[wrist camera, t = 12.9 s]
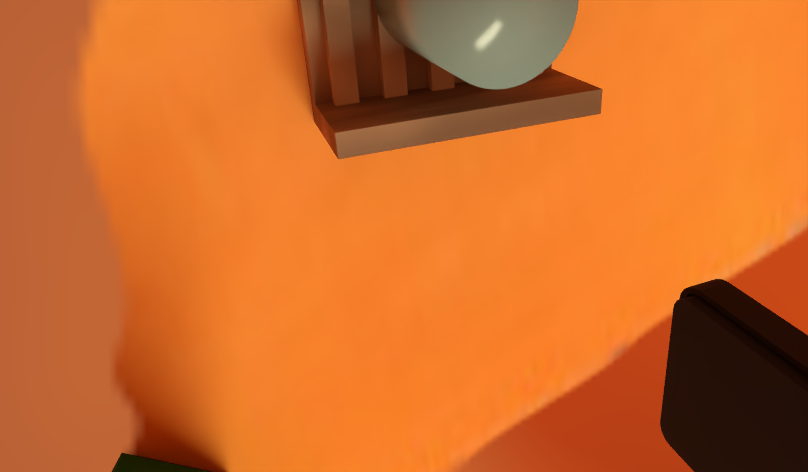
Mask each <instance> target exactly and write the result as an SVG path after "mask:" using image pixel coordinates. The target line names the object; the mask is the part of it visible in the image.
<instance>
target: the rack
mask: <svg viewBox="0 0 808 472" xmlns="http://www.w3.org/2000/svg"><path fill="white" fill-rule="evenodd" d="M297 3H298V10H299V17H300V24H301V31H302V38H303V45H304V52H305V59H306V66H307V73H308V80H309V87H310V94H311V101H312V108H313V115H314V122H315V123H316V125H317V127H318V128H319V130H320V131H321V133H322V134H323V136H324V138H325V139H326V141H327V142H328V144H329V145H330V147H331V148H332V150H333V152H334V153H335V155H336V156H337V158H338V159H342V158H348V157H354V156H360V155H365V154H371V153H377V152H383V151H388V150H394V149H400V148H406V147H411V146H417V145H423V144H429V143H434V142H440V141H446V140H452V139H457V138H463V137H469V136H475V135H481V134H486V133H492V132H498V131H504V130H509V129H515V128H521V127H527V126H532V125H538V124H544V123H550V122H555V121H561V120H567V119H573V118H578V117H584V116H590V115H596V114H601V100H602V89H601V88H598V87H596V86H593V85H591V84H588V83H586V82H583V81H581V80H578V79H576V78H573V77H571V76H568V75H566V74H563V73H561V72H558V71H556V70H554V69H551V66H552V63H551V64H550V66H549V67H547V68H546V69H545V70H544V71H543V72H542V73H540V74H539V75H537V76H536V77H535V78H533V79H531V80H529V81H527V82H526V83H523V84H521V85H518V86H515V87H511V88H507V89H486V88H481V87H477V86H474V85H472V84H469V83H467V82H466V81H464V80H462V79H460V78H458V77H457V76H455V75H453V74H451V73H450V72H448V71H446V70H445V69H443V68H441V67H439V66H438V65H436V64H434V63H432V62H431V61H429V60H427V59H425V58H424V57H422V56H420V55H418V54H417V53H415V52H413V51H411V50H410V49H408V48H406V47H404V46H403V45H401V44H400V43H398V42H397V41H396V40H395V39H394V38H393V37H392V36H391V35H390V34H389V33H388V32H387V30H386V29H385V28H384V26H383V24H382V23H381V21H380V19H379V16H378V14H377V11H376V7H375V3H374V0H297Z"/></svg>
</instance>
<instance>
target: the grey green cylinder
mask: <svg viewBox="0 0 808 472" xmlns="http://www.w3.org/2000/svg"><path fill="white" fill-rule="evenodd" d="M374 3H375V7H376V11H377V14H378V16H379V19H380V21H381V23H382V24H383V26H384V28H385V29H386V30H387V32H388V33H389V34H390V35H391V36H392V37H393V38H394V39H395V40H396V41H397V42H398V43H400V44H401V45H403V46H404V47H406V48H408V49H410V50H411V51H413V52H415V53H417V54H418V55H420V56H422V57H424V58H425V59H427V60H429V61H431V62H432V63H434V64H436V65H438V66H439V67H441V68H443V69H445V70H446V71H448V72H450V73H451V74H453V75H455V76H457V77H458V78H460V79H462V80H464V81H466V82H467V83H469V84H472V85H474V86H477V87H481V88H486V89H507V88H511V87H515V86H518V85H521V84H523V83H526V82H527V81H529V80H531V79H533V78H535V77H536V76H537V75H539V74H540V73H542V72H543V71H544V70H545V69H546V68H547V67H549V66H550V64H551V63H552V62H553V61H554V60H555V59H556V58H557V56H558V55H559V54H560V52H561V51H562V49H563V48H564V46H565V44H566V42H567V41H568V38H569V36H570V34H571V32H572V29H573V26H574V23H575V19H576V14H577V10H578V0H374Z"/></svg>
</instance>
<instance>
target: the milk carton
mask: <svg viewBox="0 0 808 472" xmlns="http://www.w3.org/2000/svg"><path fill="white" fill-rule="evenodd" d="M112 472H209V471H204V470H200V469H195V468H190V467H186V466H181V465H176V464H172V463H167V462H162V461H158V460H153V459H148V458H143V457H139V456H134V455H129V454H125V453H121V455H120V457H119V459H118V461H117V463H116V465H115V467H114V469H113V470H112Z"/></svg>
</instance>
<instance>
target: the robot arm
mask: <svg viewBox="0 0 808 472" xmlns="http://www.w3.org/2000/svg"><path fill="white" fill-rule="evenodd" d="M660 424H661V430H662V433H663V435H664V437H665V439H666V441H667V442H668V444H669V445H670V446H671V447H672V448H673V449H674V450H675V451H676V453H677V454H678V455H679V456H680V457H681V458H682V459H683V460H684V461H685V462H686V463H687V464H688V465H689V466H690V468H691V469H692V470H693V471H694V472H808V335H806V334H805V333H803V332H802V331H800V330H799V329H797V328H796V327H794V326H793V325H791V324H790V323H788V322H787V321H785V320H784V319H782V318H781V317H779V316H778V315H776V314H775V313H773V312H772V311H770V310H769V309H767V308H766V307H764V306H763V305H761V304H760V303H759V302H757V301H756V300H754V299H753V298H751V297H749V296H748V295H746V294H745V293H744V292H742V291H741V290H739V289H738V288H736V287H735V286H733V285H732V284H730V283H729V282H727V281H724V280H722V279H715V280H711V281H708V282H705V283H701V284H698V285H694V286H691V287H688V288H686V289H684V290H683V291H682V293H681V295H680V299H679V300H677V301H676V303H675V304H674V308H673V317H672V326H671V334H670V343H669V351H668V360H667V369H666V377H665V386H664V395H663V404H662V412H661V420H660Z"/></svg>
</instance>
